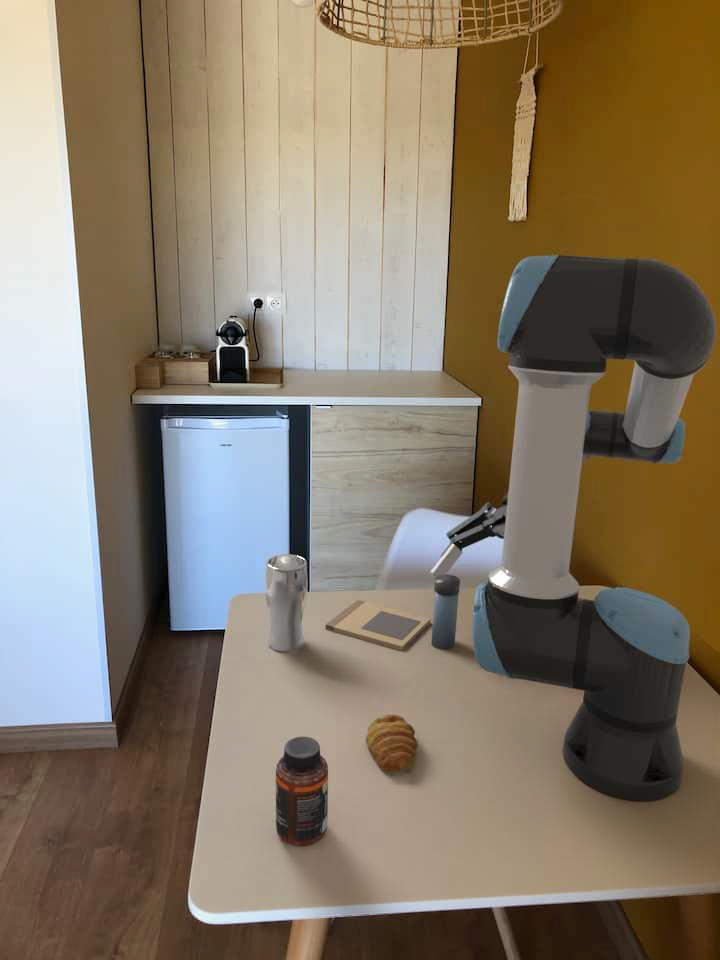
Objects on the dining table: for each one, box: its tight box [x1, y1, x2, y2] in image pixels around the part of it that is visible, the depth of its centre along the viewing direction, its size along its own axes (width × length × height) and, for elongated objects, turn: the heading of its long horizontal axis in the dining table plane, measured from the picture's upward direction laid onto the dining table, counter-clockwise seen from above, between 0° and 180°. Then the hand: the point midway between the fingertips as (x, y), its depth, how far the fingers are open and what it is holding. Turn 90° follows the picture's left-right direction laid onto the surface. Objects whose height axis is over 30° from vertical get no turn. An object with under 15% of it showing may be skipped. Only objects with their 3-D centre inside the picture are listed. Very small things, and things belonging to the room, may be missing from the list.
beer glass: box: [264, 553, 308, 653], centre depth 130 cm, size 7×7×15 cm
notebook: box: [325, 599, 431, 651], centre depth 139 cm, size 12×15×1 cm
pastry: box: [365, 714, 419, 776], centre depth 103 cm, size 9×7×4 cm
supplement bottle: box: [275, 736, 329, 847], centre depth 88 cm, size 6×6×11 cm
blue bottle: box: [431, 574, 461, 650], centre depth 132 cm, size 4×4×12 cm
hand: (459, 591), depth 133 cm, fingers open, 13 cm apart
